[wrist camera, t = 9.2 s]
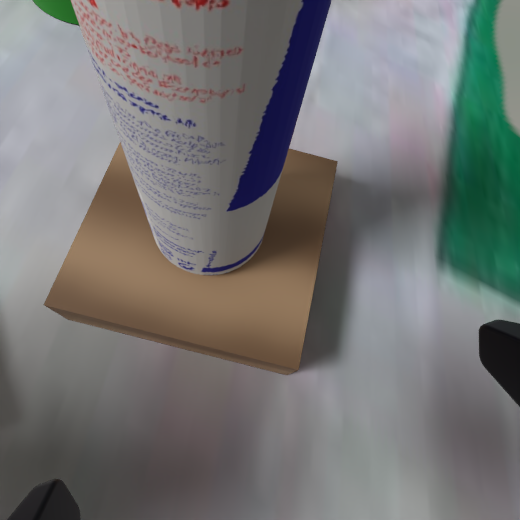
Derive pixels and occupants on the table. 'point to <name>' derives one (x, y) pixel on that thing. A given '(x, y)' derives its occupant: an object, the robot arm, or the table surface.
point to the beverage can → (204, 112)
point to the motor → (58, 9)
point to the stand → (195, 285)
